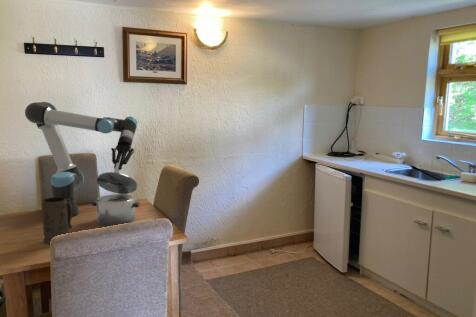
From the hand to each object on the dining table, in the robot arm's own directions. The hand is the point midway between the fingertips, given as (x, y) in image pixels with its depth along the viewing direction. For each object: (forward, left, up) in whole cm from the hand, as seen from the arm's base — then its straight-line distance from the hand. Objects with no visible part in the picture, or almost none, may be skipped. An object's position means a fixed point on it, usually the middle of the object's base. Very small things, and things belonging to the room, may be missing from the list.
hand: (115, 174), depth 207 cm
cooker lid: (0, +1, -6) cm, 6 cm away
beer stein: (-5, -34, -25) cm, 43 cm away
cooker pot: (0, -1, -25) cm, 25 cm away
